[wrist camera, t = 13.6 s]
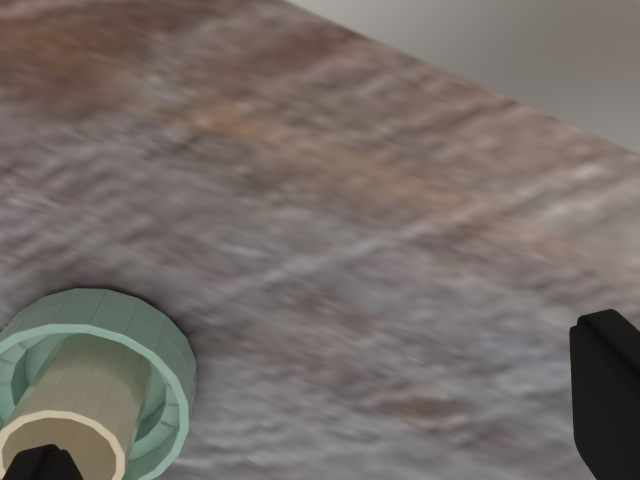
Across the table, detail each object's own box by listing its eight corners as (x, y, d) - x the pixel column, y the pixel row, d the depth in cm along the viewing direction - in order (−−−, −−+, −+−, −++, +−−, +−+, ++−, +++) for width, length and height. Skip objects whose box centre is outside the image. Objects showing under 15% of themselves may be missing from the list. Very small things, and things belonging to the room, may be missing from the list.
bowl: (-36, 313, 36) (-80, 357, 32) (159, 262, 36) (143, 299, 32) (51, 461, 42) (24, 517, 37) (222, 417, 41) (216, 468, 37)
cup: (28, 345, 37) (-32, 429, 30) (129, 319, 37) (95, 397, 30) (71, 425, 40) (27, 520, 32) (166, 401, 40) (143, 490, 32)
